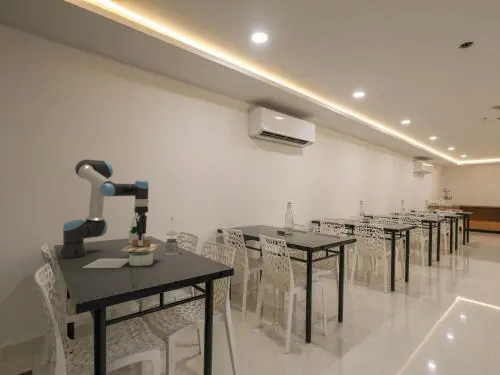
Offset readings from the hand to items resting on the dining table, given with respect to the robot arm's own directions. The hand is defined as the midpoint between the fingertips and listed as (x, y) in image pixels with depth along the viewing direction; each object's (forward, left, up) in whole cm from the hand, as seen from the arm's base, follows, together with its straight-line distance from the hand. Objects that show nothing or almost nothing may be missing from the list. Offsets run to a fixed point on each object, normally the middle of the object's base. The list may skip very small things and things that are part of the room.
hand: (141, 244), depth 178 cm
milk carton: (-9, +18, -11) cm, 23 cm away
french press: (+13, +27, -11) cm, 32 cm away
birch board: (0, 0, -2) cm, 2 cm away
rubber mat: (-19, 0, -11) cm, 22 cm away
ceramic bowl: (0, 0, -11) cm, 11 cm away
